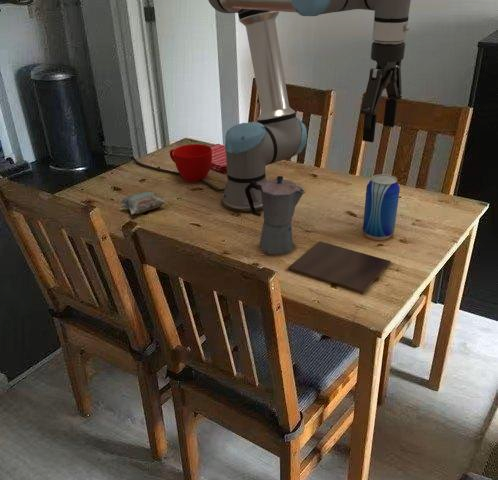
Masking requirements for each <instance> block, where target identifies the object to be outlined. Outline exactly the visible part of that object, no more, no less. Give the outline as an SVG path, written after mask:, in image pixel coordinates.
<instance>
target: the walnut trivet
mask: <svg viewBox="0 0 498 480" xmlns="http://www.w3.org/2000/svg"><path fill="white" fill-rule="evenodd" d="M390 264H391V260H388V259H384V258H381V257H377V256H374V255H371V254H366V253H364V252H360V251H356V250H352V249H350V248H345V247H342V246H338V245H334V244H331V243H328V242H325V241H318V242H316V244H314V245H313V246H312V247H310V249H308V250H307V251H306V252H304V254H302V255H301V256H300V257H298V258H297V259H296V260H295V261H294V262H293V263H292V264H291V265H289V266H288V268H287V269H288V271H289V272H293V273H295V274H299V275H302V276H306V277H309V278H312V279H315V280H318V281H321V282H325V283H327V284H330V285H334V286H337V287H340V288H343V289H346V290H350V291H352V292H356V293H359V294H362V295H363V294H364V293H365V292H366V291H367V290H368V288H369V287H370V286H371V285H372V284H373V283H374V282H375V281H376V280H377V279H378V278H379V277H380V276H381V275H382V273H384V271H386V269H387V268H388V267H389V266H390Z"/></svg>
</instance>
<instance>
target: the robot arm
mask: <svg viewBox="0 0 498 480" xmlns="http://www.w3.org/2000/svg"><path fill="white" fill-rule="evenodd" d="M207 1H208V3H209V4H210V6H211V7H212V8H213V9H215V11H217V12H219V13H222V14H237V15H238V21H239V23H240V24H242V25H243V26H244V27H245V29H246V30H245V31H246V36H247V42H248V47H249V52H250V57H251V65H252V69H253V73H254V79H255V85H256V90H257V96H258V102H259V107H260V114H259V116H258V117H257V121H248V122H241V123H238V124H235V125H233V126H231V127H230V128H229V129H228V130H227V131H226V133H225V135H224V136H225V142H224V146H225V149H226V162H227V172H226V176H227V178H226V179H227V180H226V184H225V187H224V188H218V187H215V186H213V184H211V183H210V182H207V181H206V180H205V179H204V180H201V179H200V180H199V182H201V183H203V184H205V185H207V186H209V187H210V188H211V189H213V190H214V191H217V192H223V194H222V205H223V206H224V207H225V209H228V210H229V211H230V210H231V211H233V212H237V213H252V211H251V208H250V205H249V202H248V199H247V196H246V194H245V188H246V187H247V186H248V185H249V184H250V183H251V181H255V182H257V183H258V182H263V183H266V182H268V180H267V177H266V170H267V169H266V166H269V165H271V164H272V165H273V164H275V163H278V162H280V161H284V160H290V159H291V158H293V157H296V156H299V154H301V153H302V152H303V150H304V148H305V147H306V144H307V140H308V138H307V137H308V134H307V132H308V131H307V127H306V125H305V123H303V120H302V119H301V118H300V117H297V114H296V110H294V109H293V108H291V106H290V102H289V98H288V91H287V85H286V78H285V71H284V66H283V60H282V54H281V48H280V42H279V35H278V29H277V23H276V20H277V17H278V16H279V14H280V12H281V13H282V12H284V13H296V14H298V15H299V16H301V17H316V16H317V17H318V16H321V15H326V14H333V13H340V12H345V11H355V10H364V11H373V12H374V16H373V17H374V18H373V26H372V34H371V39H372V40H373V42H372V43H371V47H370V59H371V60H372V61H374V62H376V67H375V68H373V67H371V68H370V70H369V76H368V80H367V85H366V89H365V92H364V97H363V100H362V104H361V109H360V114H361V115H363V128H362V139H361V140H362V142H369V143H374V141H375V136H376V135H375V133H376V125H377V116H378V114H376V113H377V109H378V106H379V103H380V101H381V98H382V96H383V92H384V90H385V91H386V96H387V98H386V99H385V104H384V105H385V106H384V115H383V123H382V126H384V127H390V128H394V127H395V125H396V124H395V123H396V115H397V106H398V101H401V100H402V97H403V95H402V93H403V92H402V90H403V89H402V69H401V68H402V60H404V58H405V52H406V51H405V50H406V42H405V40H406V39H407V33H408V31H410V26H409V14H410V8H411V2H412V0H207ZM130 160H131V161H134V162H135V164H138V165H139V166H141V167H145V168H147V169H151V170H156V171H160V172H164V173H170V174H173V175H178V176H181V174H180V173H179V172H178V171H173V170H168V169H163V168H161V167H155V166H151V165H148V164H145V163H142V162H139V161H138V160H137V159H136V157H135V156H131V158H130ZM250 193H251V197H252V200H253V204H254V208H255V210H256V212H260V211H263V204H262V194H261V191H260V190H256V189H255V188H251V189H250Z"/></svg>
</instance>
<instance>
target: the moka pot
mask: <svg viewBox="0 0 498 480" xmlns="http://www.w3.org/2000/svg"><path fill="white" fill-rule="evenodd" d="M251 188H255V189H256V190H260V191H261V194H262V204H263V210H262V211H263V224H262V228H261V234H260V240H259V248H260V249H261V251H262V252H264V253H266V254H270V255H276V256H278V255H286V254H289V253H290V252H292V250H293V249H294V239H293V226H292V225H293V224H292V220H293V216H294V215H295V212H296V211H295V210H296V206H297V205H298V203H299V201H300V200H301V198H302V197H303V195H304V194H306V191H305V189H304V188H302V187H299V186H298V185H297V183H296V182H292V181H289V180H287V179H284V177H283V176H282V175H278V176H276V179H271V180H270V179H269V180H267V182H266V183H263V182H258V183H257V182H255V181H251V183H250V184H249V185H248V186H247V187H246V188H245V194H246V196H247V199H248V202H249V205H250V208H251V211H252V212H251V214H252V215H253V216H256V217H261V216H262V213H261V212H260V211H256V210H255V208H254V204H253V200H252V197H251V193H250V189H251Z"/></svg>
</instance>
